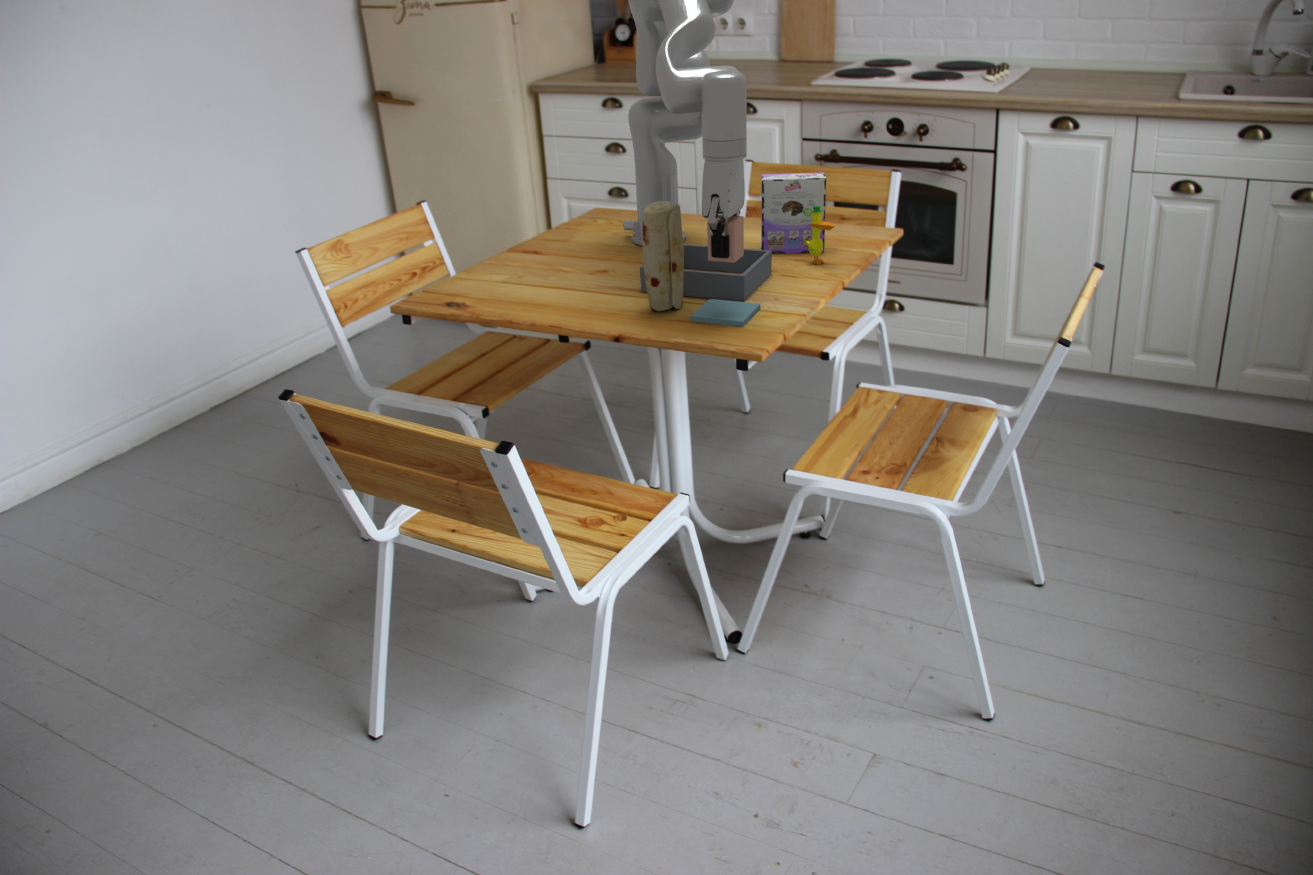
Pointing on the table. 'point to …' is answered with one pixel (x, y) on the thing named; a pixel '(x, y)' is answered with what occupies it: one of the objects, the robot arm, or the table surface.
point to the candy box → (790, 210)
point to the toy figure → (817, 234)
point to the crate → (722, 274)
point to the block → (731, 239)
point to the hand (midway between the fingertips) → (725, 252)
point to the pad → (725, 312)
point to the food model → (663, 255)
